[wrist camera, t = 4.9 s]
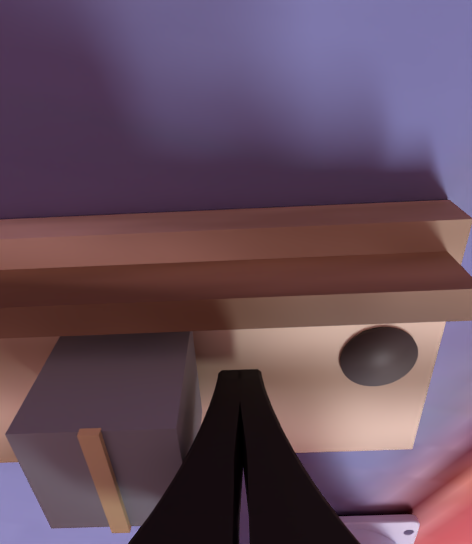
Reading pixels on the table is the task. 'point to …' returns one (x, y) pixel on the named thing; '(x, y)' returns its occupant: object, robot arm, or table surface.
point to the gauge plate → (253, 305)
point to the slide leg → (108, 426)
